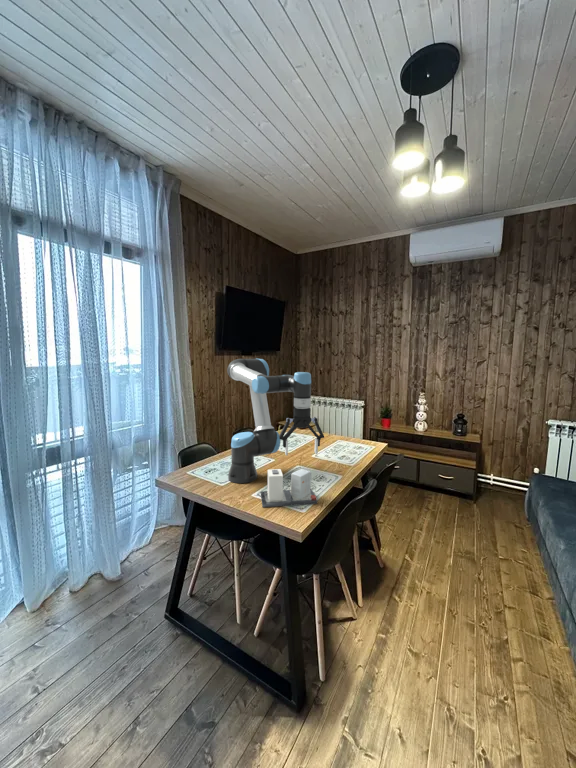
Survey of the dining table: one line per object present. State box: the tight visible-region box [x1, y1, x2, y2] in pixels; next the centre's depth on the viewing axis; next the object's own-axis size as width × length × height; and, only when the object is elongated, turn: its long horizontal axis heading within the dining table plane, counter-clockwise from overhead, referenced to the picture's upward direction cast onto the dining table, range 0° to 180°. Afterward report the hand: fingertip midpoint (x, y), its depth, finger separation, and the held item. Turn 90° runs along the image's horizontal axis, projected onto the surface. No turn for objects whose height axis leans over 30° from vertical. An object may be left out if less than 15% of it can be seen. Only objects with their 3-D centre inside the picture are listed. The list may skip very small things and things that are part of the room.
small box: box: [290, 468, 312, 499], centre depth 139 cm, size 8×6×10 cm
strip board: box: [260, 488, 318, 508], centre depth 139 cm, size 24×12×2 cm, turn 99°
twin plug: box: [267, 468, 284, 501], centre depth 137 cm, size 6×8×12 cm
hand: (301, 453), depth 138 cm, fingers open, 13 cm apart
